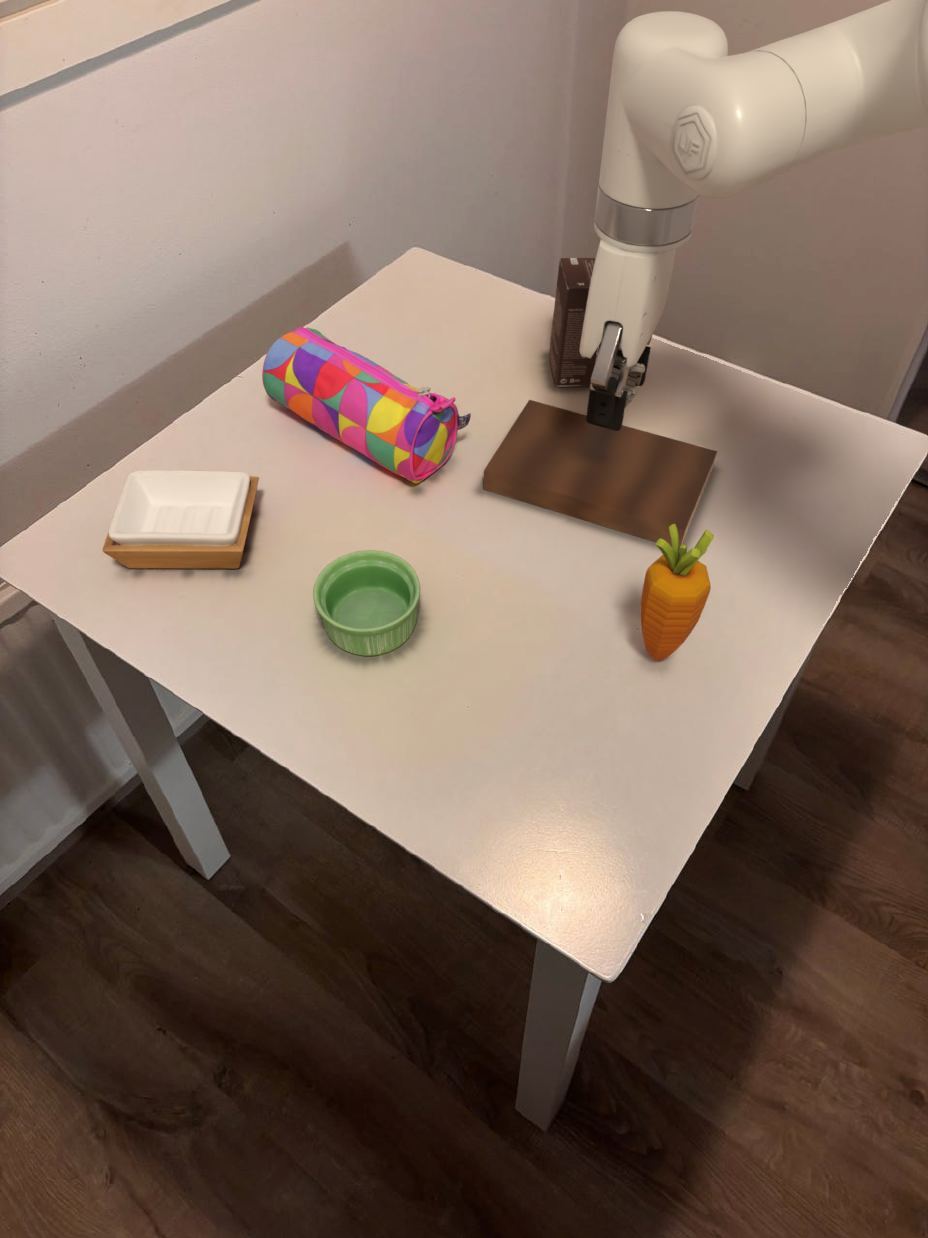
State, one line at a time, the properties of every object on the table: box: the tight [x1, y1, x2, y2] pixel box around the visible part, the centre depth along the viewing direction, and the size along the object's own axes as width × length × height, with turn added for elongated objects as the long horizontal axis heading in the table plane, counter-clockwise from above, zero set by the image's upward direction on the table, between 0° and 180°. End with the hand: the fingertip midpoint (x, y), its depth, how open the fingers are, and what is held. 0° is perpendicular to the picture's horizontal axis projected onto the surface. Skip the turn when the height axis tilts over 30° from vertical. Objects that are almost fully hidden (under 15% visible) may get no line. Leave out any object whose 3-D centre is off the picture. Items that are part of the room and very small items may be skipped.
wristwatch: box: [611, 355, 645, 409], centre depth 80 cm, size 4×6×5 cm, turn 145°
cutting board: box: [483, 399, 718, 550], centre depth 89 cm, size 20×12×2 cm, turn 66°
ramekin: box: [312, 549, 421, 657], centre depth 77 cm, size 9×9×4 cm
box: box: [548, 257, 599, 388], centre depth 96 cm, size 6×4×12 cm
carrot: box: [640, 524, 714, 661], centre depth 70 cm, size 5×5×15 cm
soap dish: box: [102, 469, 260, 570], centre depth 83 cm, size 12×10×5 cm
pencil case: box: [261, 326, 472, 484], centre depth 91 cm, size 22×9×9 cm, turn 53°
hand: (615, 401), depth 82 cm, fingers closed on wristwatch, 6 cm apart
